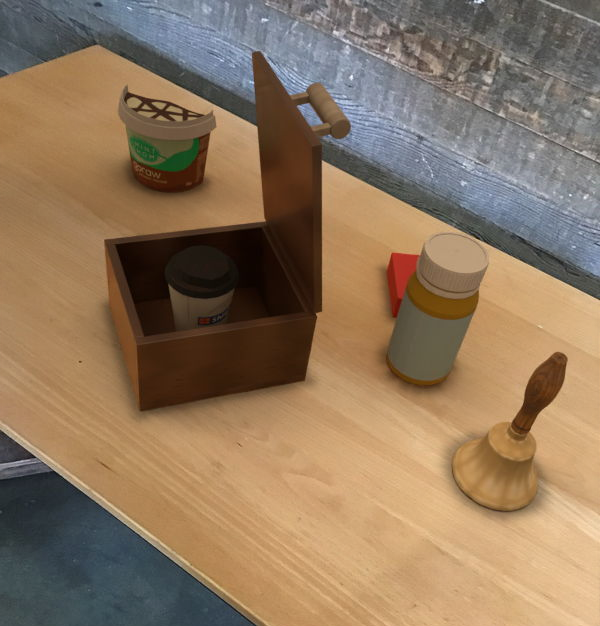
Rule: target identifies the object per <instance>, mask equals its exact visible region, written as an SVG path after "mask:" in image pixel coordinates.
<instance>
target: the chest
mask: <svg viewBox="0 0 600 626" xmlns="http://www.w3.org/2000/svg"><path fill="white" fill-rule="evenodd" d="M103 244H104V245H103V246H104V256H105V257H104V258H105V268H106V269H105V270H106V280H107V291H108V292H107V293H108V305H109V306H108V307H109V310H110V314H111V317H112V321H113V324H114V327H115V331H116V334H117V337H118V342H119V344H120V348H121V351H122V356H123V358H124V362H125V365H126V368H127V372H128V375H129V379H130V383H131V386H132V390H133V393H134V395H135V400H136V404H137V406H138V410H139V412H144V411H148V410H154V409H159V408H164V407H170V406H171V407H172V406H176V405H180V404H181V405H182V404H187V403H191V402H193V403H194V402H198V401H202V400H203V401H204V400H209V399H214V398H219V397H225V396H229V395H236V394H240V393H245V392H252V391H256V390H262V389H263V390H264V389H268V388H273V387H278V386H284V385H289V384H295V383H300V382H305V381H306V378H307V372H308V368H309V362H310V356H311V351H312V346H313V340H314V335H315V331H316V325H317V322H318V321H317V320H318V315H317V313H315V314H314V312H313V310H312V308H311V306H310V304H309V302H308V301H307V299H306V297H305V295H304V293H303V291H302V289H301V287H300V285H299V283H298V281H297V280H296V278H295V276H294V274H293V272H292V270H291V268H290V266H289V264H288V262H287V260H286V259H285V257H284V255H283V253H282V251H281V249H280V247H279V245H278V243H277V241H276V239H275V238H274V236H273V234H272V232H271V230H270V228H269V226H268V224H267V222H266V220H265V221H258V222H257V221H256V222H247V223H238V224H230V225H220V226H210V227H203V228H193V229H184V230H177V231H176V230H175V231H167V232H159V233H148V234H141V235H140V234H139V235H132V236H121V237H115V238H106V239H105V238H104V239H103ZM198 245H204V246H210V247H214V248H216V249H218V250H220V251H222V252H223V253H224V254H226V255H227V256H229V257H230V258H231V259H232V260H233V261H234V263H235V265H236V268H237V270H238V272H239V281H238V283H237V285H236V286H235V289H234V293H233V297H232V301H231V306H230V310H229V314H228V318H227V322H226V324H223V325H217V326H210V327H204V328H197V329H191V330H184V331H178V332H176V328H175V322H174V316H173V309H172V303H171V297H170V291H169V285H168V283H167V280H166V277H165V269H166V266H167V264H168V263H169V261H170V260H171V258H172V257H173V256H174V255H176V254H177V253H178V252H180V251H183V250H185V249H186V248H189V247H192V246H198Z"/></svg>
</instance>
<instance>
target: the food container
mask: <svg viewBox="0 0 600 626" xmlns="http://www.w3.org/2000/svg"><path fill="white" fill-rule="evenodd" d="M117 114H118V117H119V119H120V121H121V122H122V123H123V124H124V125H125V131H126V138H127V146H128V152H129V159H130V165H131V172H132V175H133V177H134V179H135V180H136V181H137V182H138V184H140V185H141V186H144V187H145V188H146V189H150V190H152V191H156V192H162V193H182V192H186V191H190V190H193V189H194V188H196V187H198V186H199V185H200V184H202V182H204V178H205V172H206V167H207V166H206V165H207V158H208V152H209V145H210V138H211V132H213V131H214V130H215V129H216V128H217V127H218V126H217V120H216V115H215V114H214V110H213V109H211V111H209V112H208V113H206V114H203V113H199V112H195V111H193V110H189V109H187V108H185V107H183V106H181V105H179V104H177V103H174V102H171V101H169V100H163V99H156V98H150V97H146V96H142V95H139V94H135V93H132V92H129V86H128V84H126V85H124V87H123V88H122V91H121V93H120V95H119V100H118V107H117Z"/></svg>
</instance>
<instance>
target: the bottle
mask: <svg viewBox="0 0 600 626" xmlns="http://www.w3.org/2000/svg"><path fill="white" fill-rule="evenodd" d="M419 255H420V258H419V263H418V265H417V268H416V270H415V271H414V273H413V274H412V275H411V276H410V277H409V280H408V283H407V285H406V289H405V292H404V295H403V299H402V302H401V305H400V309H399V312H398V315H397V317H396V319H395V322H394V326H393V329H392V332H391V335H390V339H389V342H388V345H387V349H386V355H385V356H386V357H385V358H386V362H387V364H388V366H389V368H390V369H391V370H392V372H393V373H394V374H395V375H396V376H397V377H399V378H400V379H401V380H403V381H405V382H407V383H408V384H413V385H417V386H430V385H435V384H438V383H441V382H442V381H444V380H445V379H447V378H448V376H449V375H450V373H451V371H452V369H453V367H454V364H455V361H456V359H457V356H458V354H459V352H460V349H461V347H462V344H463V342H464V340H465V337H466V335H467V332H468V330H469V327H470V324H471V322H472V319H473V317H474V315H475V312H476V309H477V307H478V304H479V300H480V289H479V288H480V286H481V283H482V282H483V280H484V278H485V275H486V272H487V271H488V267H489V264H490V254H489V251H488V249H487V248H486V247H485V246H484V245H483V244H482V243H481V242H480V241H479V240H477V239H476V238H474V237H472V236H470V235H467V234H465V233H461V232H458V231H451V230H450V231H449V230H447V231H446V230H445V231H438V232H434V233H432V234H430V236H428V237H427V238H426V240H425V241H424V243H423V245H422V248H421V252H420V254H419Z"/></svg>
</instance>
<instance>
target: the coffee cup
mask: <svg viewBox="0 0 600 626" xmlns="http://www.w3.org/2000/svg"><path fill="white" fill-rule="evenodd" d="M165 277H166V280H167V283H168V285H169V291H170V297H171V303H172V309H173V316H174V322H175V328H176V332H178V331H184V330H191V329H197V328H204V327H210V326H217V325H223V324H226V322H227V318H228V314H229V310H230V306H231V301H232V297H233V293H234V289H235V286H236V285H237V283H238V281H239V272H238V270H237V268H236V265H235V263H234V261H233V260H232V259H231V258H230V257H229V256H227V255H226V254H224V253H223V252H222V251H220V250H218V249H216V248H214V247H210V246H204V245H198V246H192V247H189V248H186V249H185V250H183V251H180V252H178V253H177V254H176V255H174V256H173V257H172V258H171V260H170V261H169V263H168V264H167V266H166V269H165Z"/></svg>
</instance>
